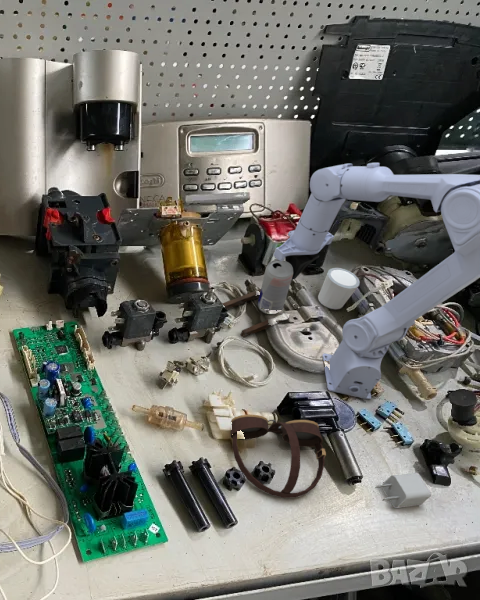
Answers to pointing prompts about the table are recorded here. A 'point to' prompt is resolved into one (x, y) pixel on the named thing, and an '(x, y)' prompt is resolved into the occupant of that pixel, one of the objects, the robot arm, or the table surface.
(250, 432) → the goggles
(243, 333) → the cradle
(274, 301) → the energy drink
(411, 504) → the usb wall charger
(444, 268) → the robot arm
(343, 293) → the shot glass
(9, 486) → the table surface
